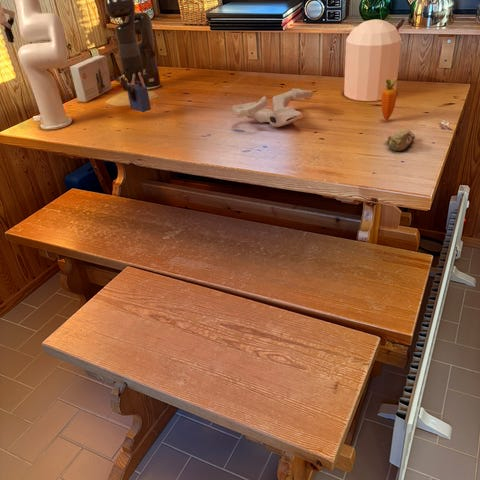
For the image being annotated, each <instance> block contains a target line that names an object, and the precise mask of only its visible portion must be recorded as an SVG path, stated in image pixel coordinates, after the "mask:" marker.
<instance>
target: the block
mask: <svg viewBox="0 0 480 480" xmlns="http://www.w3.org/2000/svg"><path fill="white" fill-rule="evenodd" d="M126 93H127V97H128V102H129V107H130V109H132V110H134V111H138V112H140V113H147V112H148V111H152V106H151V101H150V100H151V99H150V95H149V90H147V87H144V86H140V85H139V84H138V83H137V84H135V85H134V93H135V98H136V101H132V100H131V99H130V95H129V92H128V91H126Z"/></svg>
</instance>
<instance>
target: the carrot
mask: <svg viewBox="0 0 480 480" xmlns="http://www.w3.org/2000/svg"><path fill="white" fill-rule="evenodd" d="M396 81H397V82H398V78H397V79H395V80H394V82H393V84H391V82H390V79H386V83H387V85H386V87H387V88H386V89H384V90H383V91H382V98H381V100H380V101H381V102H380V104H381V112H382V113H381V114H382V117H383V119H384V120H385V121H386V122H388V121H389V119H390V118H391V117H392V114H393V112H394V109H395V106H396V101H397V96H398V95H397V94H398V91H397V89H396V90H395V89H394V88H393V86H394V84H395V83H396ZM389 85H390V86H389ZM391 85H392V86H391Z"/></svg>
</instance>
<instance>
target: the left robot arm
mask: <svg viewBox="0 0 480 480" xmlns="http://www.w3.org/2000/svg"><path fill="white" fill-rule="evenodd" d="M13 1H14V3H15V7H16V13H15V11H12V10H10V9H6V8H4V7H3V6H2V3H0V25H1V26H2V27H4V29H3V30H4V31H3V32H4V33H5V36H6V39H7V42H8V43H11V44H13V43H15V41H14V40H15V37H14V36H15V35H14V34H13V29H12V28H13V25H14V23H15V15H16V14H17V15H16V16H17V23H18V28H19V33H20V36H21V38H22V39H23V40H24V41H26V42H29V43H27V44H24V45H22V46H20V47H19V49H18V51H17V57H18V60H19V62H20V65H21V67H22V68H23V70H24V72H25V74H26V76H27V79H28V81H29V85H30V87H31V91H32V93H33V96H34V98H35V102H36V105H37V108H38V111H39V114H40V115H33V116H32V119H33V122H34V123H38V122H40V124H39V126H40V128H41V129H42V130H45V131H51V130H59V129H63V128H65V127H67V126H69V125H71V123H72V122H73V120H72V118H71V117H70V116H67V114H66V110H65V107H64V103H63V100H62V97H61V94H60V90H59V87H58V83H57V81H56V78H55V77H54V76H53V75H52V74H51V72H50V71H48V70H54V69H55V70H56V69H62V68H65V67H66V66H67V65H68V50H67V43H66V36H65V35H66V33H65V29H64V25H63V22H62V20H61V18H60V16H59V14H57V13H54V12H42V9H41V2H40V1H39V0H13ZM6 15H8V20H7V16H6Z"/></svg>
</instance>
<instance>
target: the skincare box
mask: <svg viewBox="0 0 480 480" xmlns="http://www.w3.org/2000/svg"><path fill="white" fill-rule="evenodd" d="M69 70H70V74H71V78H72V82H73V86H74V90H75V94H76V98H77V102H81V103H82V102H84V103H87V102H89V101H91V100H93V99H95V98H97V97H100V96H101V95H103V94H105V93H107V92H108V91H110V90H112V89H113V86H112V81H111V78H110V76H111V75H110V72H109V71H110V70H109V66H108V62H107V57H106V55H100V54H99V55H95V56H92V57H90V58H87V59H85V60H83V61H80V62H78V63H75V64H73V65H71V66H69Z"/></svg>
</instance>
